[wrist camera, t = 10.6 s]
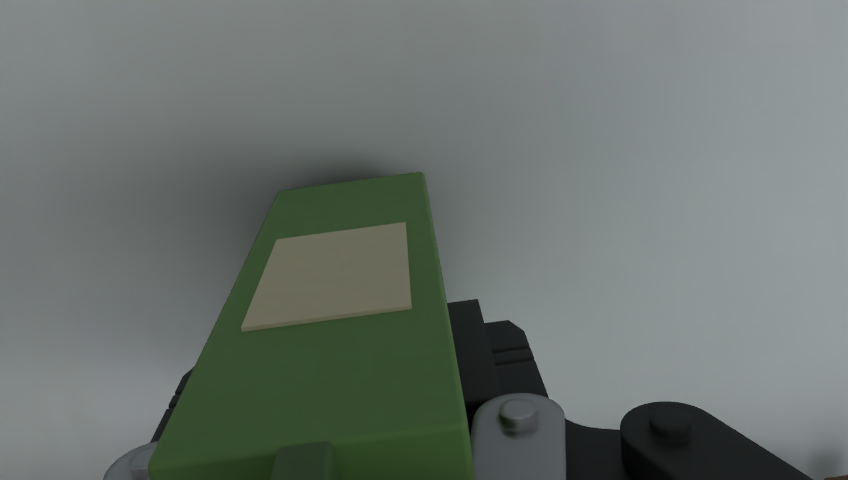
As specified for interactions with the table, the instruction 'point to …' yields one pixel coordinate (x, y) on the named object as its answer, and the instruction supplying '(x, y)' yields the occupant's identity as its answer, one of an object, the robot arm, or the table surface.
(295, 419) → the green carton
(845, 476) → the drawer
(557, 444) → the robot arm
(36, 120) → the table surface
